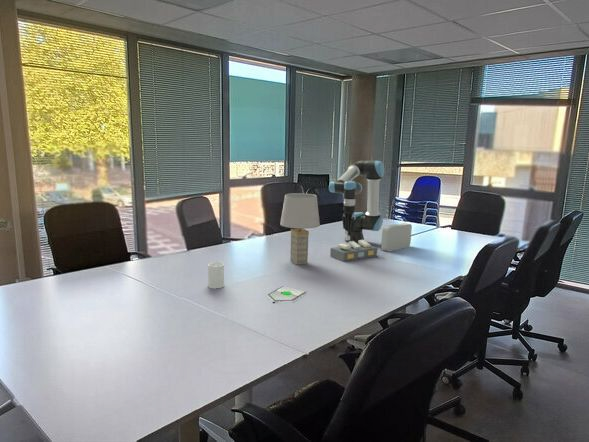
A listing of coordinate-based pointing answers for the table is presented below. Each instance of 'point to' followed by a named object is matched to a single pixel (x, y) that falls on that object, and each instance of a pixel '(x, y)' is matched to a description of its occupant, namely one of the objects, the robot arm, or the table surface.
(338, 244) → the rocker
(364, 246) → the rocker
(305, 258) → the lamp
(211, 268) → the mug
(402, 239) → the rounded white slab
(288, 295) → the security device
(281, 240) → the table surface
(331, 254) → the switch unit
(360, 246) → the rocker
